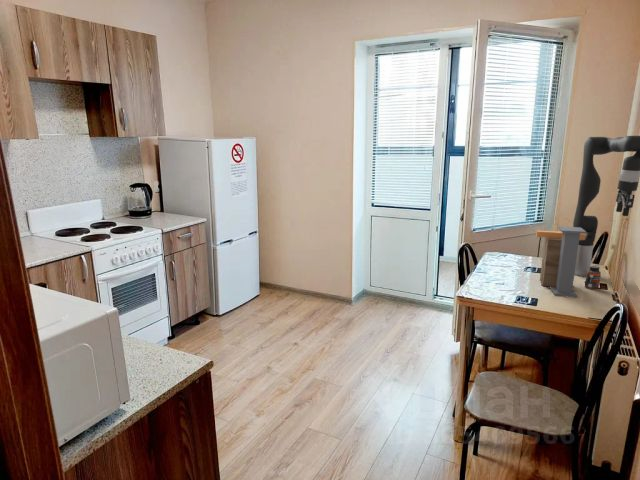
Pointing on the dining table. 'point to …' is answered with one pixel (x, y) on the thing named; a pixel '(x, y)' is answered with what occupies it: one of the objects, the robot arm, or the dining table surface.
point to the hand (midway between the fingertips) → (621, 213)
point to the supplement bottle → (593, 277)
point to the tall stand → (567, 261)
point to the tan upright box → (550, 261)
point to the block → (554, 234)
